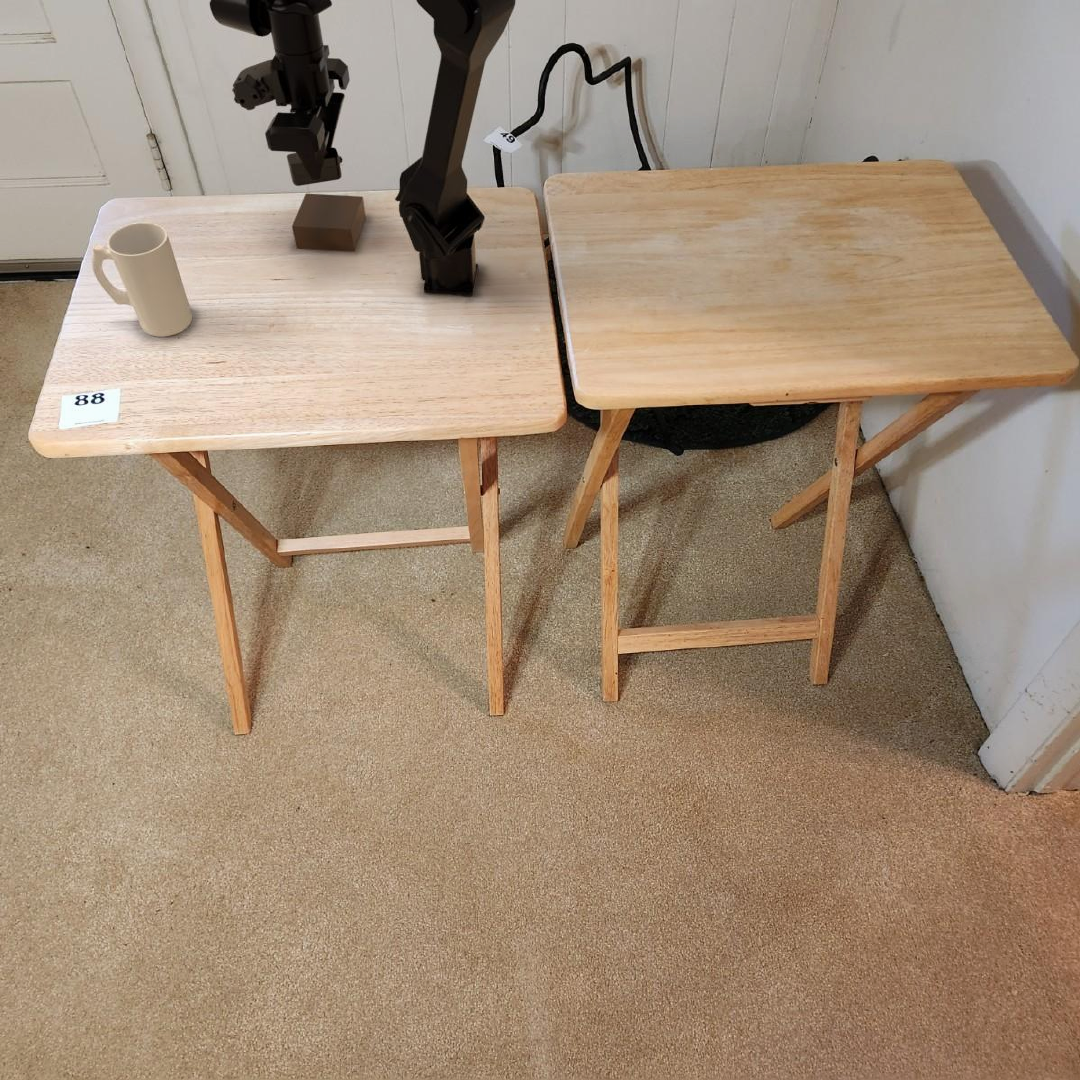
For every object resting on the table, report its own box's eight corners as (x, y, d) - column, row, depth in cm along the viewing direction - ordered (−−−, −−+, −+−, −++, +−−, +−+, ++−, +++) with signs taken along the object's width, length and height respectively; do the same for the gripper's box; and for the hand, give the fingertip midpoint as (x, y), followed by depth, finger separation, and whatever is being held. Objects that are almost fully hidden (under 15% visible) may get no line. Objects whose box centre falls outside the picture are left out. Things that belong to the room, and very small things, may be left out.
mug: (200, 305, 125) (173, 222, 115) (187, 339, 120) (158, 256, 111) (122, 303, 125) (89, 221, 115) (106, 337, 120) (70, 254, 111)
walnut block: (366, 218, 137) (362, 196, 134) (354, 252, 132) (350, 229, 129) (310, 215, 137) (305, 193, 135) (296, 248, 132) (291, 226, 130)
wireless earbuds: (349, 179, 127) (345, 155, 124) (294, 188, 125) (289, 164, 123) (342, 162, 129) (338, 139, 127) (289, 171, 128) (284, 147, 126)
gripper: (252, 7, 121) (277, 128, 133) (207, 79, 109) (240, 204, 121) (341, 11, 120) (358, 132, 132) (305, 83, 108) (328, 209, 121)
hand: (320, 167), depth 127 cm, fingers closed on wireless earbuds, 5 cm apart
